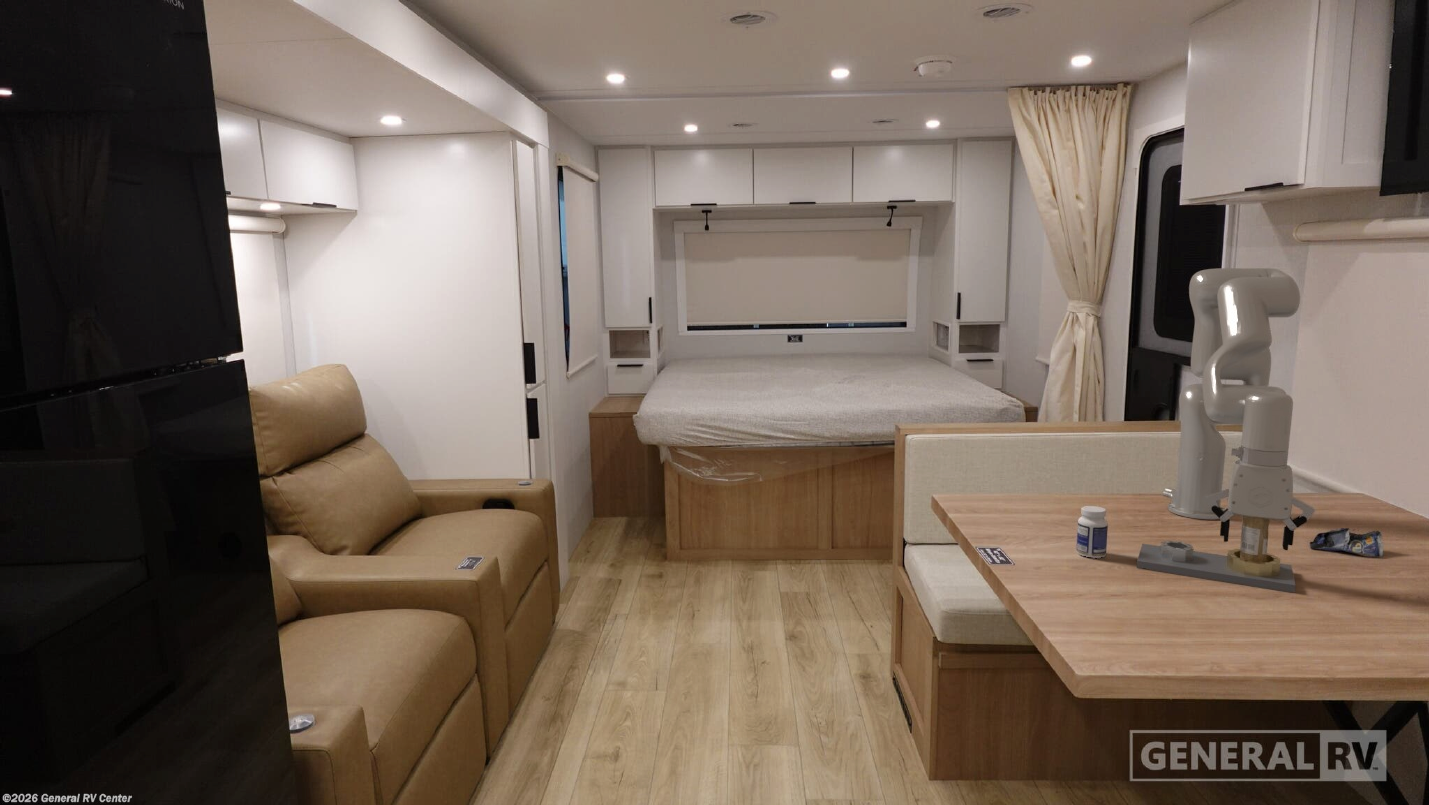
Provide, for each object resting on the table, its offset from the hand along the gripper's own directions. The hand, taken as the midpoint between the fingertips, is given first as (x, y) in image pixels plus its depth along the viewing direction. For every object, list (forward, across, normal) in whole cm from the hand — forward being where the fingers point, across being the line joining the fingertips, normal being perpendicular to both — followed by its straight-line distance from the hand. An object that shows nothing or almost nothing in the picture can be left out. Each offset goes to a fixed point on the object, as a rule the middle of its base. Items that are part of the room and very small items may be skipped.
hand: (1254, 544), depth 159 cm
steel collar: (+5, -13, 0) cm, 14 cm away
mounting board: (+6, -6, 0) cm, 9 cm away
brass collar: (+5, 0, 0) cm, 5 cm away
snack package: (+7, +17, +27) cm, 32 cm away
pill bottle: (+7, -28, -2) cm, 29 cm away
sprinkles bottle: (+5, 0, 0) cm, 5 cm away
